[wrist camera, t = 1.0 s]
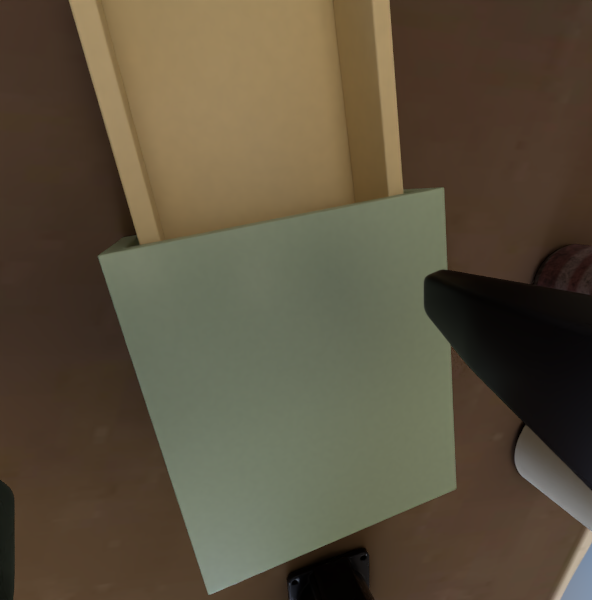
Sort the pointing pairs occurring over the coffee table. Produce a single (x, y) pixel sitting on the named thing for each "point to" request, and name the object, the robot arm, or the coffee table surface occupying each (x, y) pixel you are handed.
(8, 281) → the coffee table surface
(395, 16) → the coffee table surface
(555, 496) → the travel mug
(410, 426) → the cabinet
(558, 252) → the can
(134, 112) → the drawer
